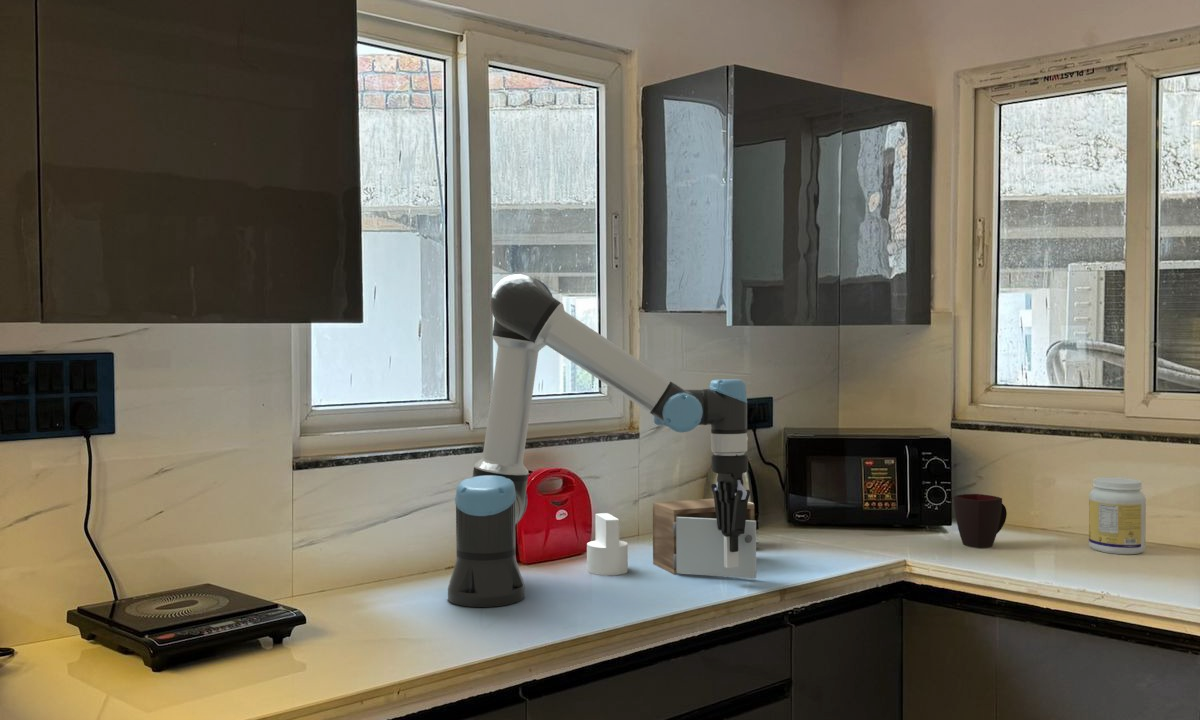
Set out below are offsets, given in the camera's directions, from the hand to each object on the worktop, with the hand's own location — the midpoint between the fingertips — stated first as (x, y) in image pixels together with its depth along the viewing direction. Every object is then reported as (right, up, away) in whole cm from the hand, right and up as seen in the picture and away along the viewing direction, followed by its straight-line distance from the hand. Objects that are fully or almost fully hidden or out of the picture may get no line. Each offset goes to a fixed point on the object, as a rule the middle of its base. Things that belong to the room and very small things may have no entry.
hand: (731, 566), depth 209 cm
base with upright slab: (-26, -4, +13) cm, 29 cm away
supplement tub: (+97, -3, +32) cm, 102 cm away
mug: (+67, -3, +39) cm, 78 cm away
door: (-3, -3, +5) cm, 7 cm away
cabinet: (-4, -3, +18) cm, 19 cm away
